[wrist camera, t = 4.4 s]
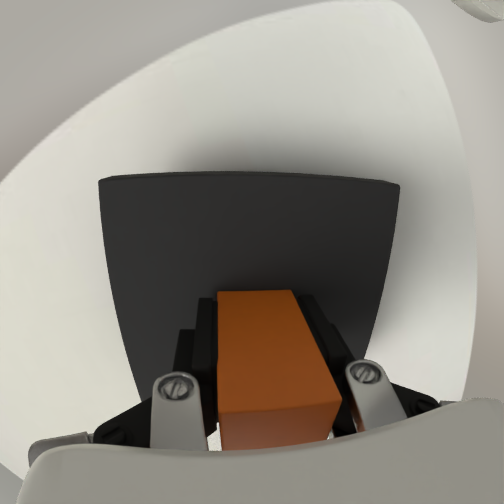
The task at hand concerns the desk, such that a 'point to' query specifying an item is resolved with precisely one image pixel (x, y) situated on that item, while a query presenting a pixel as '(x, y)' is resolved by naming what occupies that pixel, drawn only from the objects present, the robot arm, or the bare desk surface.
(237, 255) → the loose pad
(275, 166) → the desk surface
